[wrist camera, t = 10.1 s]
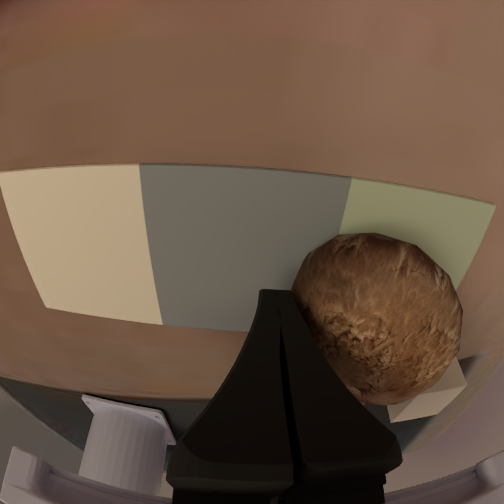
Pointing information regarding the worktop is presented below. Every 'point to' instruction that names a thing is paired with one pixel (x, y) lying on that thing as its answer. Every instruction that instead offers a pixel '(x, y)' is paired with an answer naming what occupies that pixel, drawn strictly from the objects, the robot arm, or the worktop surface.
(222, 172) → the board
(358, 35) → the worktop surface
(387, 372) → the mushroom
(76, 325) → the worktop surface
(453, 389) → the beige cube
